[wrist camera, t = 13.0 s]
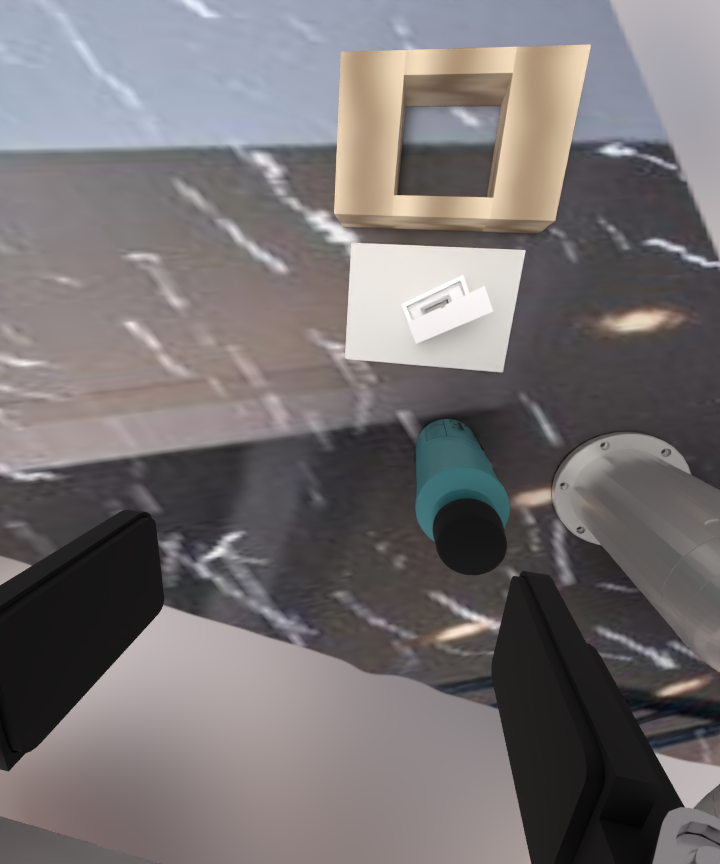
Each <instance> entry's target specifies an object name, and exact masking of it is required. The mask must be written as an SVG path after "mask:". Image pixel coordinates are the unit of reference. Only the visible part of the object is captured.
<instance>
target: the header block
mask: <svg viewBox="0 0 720 864" xmlns="http://www.w3.org/2000/svg"><path fill="white" fill-rule="evenodd" d="M590 47H591V45H561V46H528V47H494V48H460V49H427V50H393V51H360V52H341V66H340V90H339V113H338V137H337V160H336V184H335V207H334V214H335V216H336V217H337V218H338V220H339V221H340V223H341V224H342V225H343V227H365V228H393V229H420V230H448V231H475V232H503V233H530V234H539V233H540V232H542V231H543V230H544V229H545V228H547V227H548V226H549V225H550V224H552V223H553V222H554V221H555V219H556V214H557V209H558V204H559V199H560V194H561V189H562V184H563V179H564V174H565V170H566V165H567V160H568V155H569V150H570V145H571V140H572V135H573V130H574V126H575V121H576V116H577V111H578V106H579V101H580V96H581V91H582V86H583V82H584V77H585V72H586V67H587V62H588V57H589V52H590ZM406 106H501V108H500V114H499V121H498V127H497V134H496V140H495V147H494V154H493V160H492V167H491V173H490V180H489V187H488V193H487V198H486V197H445V196H403V195H398V189H399V177H400V166H401V155H402V143H403V132H404V120H405V109H406Z"/></svg>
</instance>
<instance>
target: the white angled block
mask: <svg viewBox="0 0 720 864" xmlns="http://www.w3.org/2000/svg"><path fill="white" fill-rule="evenodd" d="M444 301H447V304H446V305H444V306H443V307H442V308H441V307H440V308H438V309H435V310H433V311H431V312H429V313H427V314H426V313H425V310H427V309H429V308H431V307H433V306H435V305H437V304H439V303H442V302H444ZM401 305H402V308H403V311H404V313H405V316H406V318H407V321H408V325H409V328H410V330H411V333H412V335H413V338H414V340H415V343H416V344H417V343H420V342H422V341H424V340H427V339H429V338H431V337H434V336H436V335H439V334H441V333H443V332H446V331H448V330H450V329H453V328H455V327H458V326H460V325H462V324H465V323H467V322H469V321H472V320H474V319H477V318H479V317H481V316H484V315H486V314H488V313H491V312H493V309H492V306H491V303H490V300H489V297H488V294H487V291H486V288H485V286H483V287H481V288H479V289H477V290H475V291H473V292H471V293H470V292H469V290H468V287H467V284H466V281H465V278H464V276H463V275H461V276H459V277H457V278H455V279H453V280H451V281H449V282H447V283H444V284H442V285H440V286H438V287H436V288H434V289H432V290H430V291H428V292H426V293H424V294H422V295H419V296H417V297H415V298H413V299H411V300H409V301H407V302H405V303H403V304H401Z"/></svg>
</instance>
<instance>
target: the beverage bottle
mask: <svg viewBox="0 0 720 864" xmlns="http://www.w3.org/2000/svg"><path fill="white" fill-rule="evenodd" d="M461 422H462V421H461ZM461 422H459V421H457V420H453V419H451V418H450V419H444V418H443V419H442V420H439V419H438V420H437V421H435V422H433V421H432V423H430V424H429V425H428V424H427V426H425V428H424V429H423V430H422V432H421V433H420V435H419V437H418V439H417V443H416V458H415V459H416V475H417V498H416V506H415V508H416V516H417V520H418V523H419V525H420V527H421V528H422V530H423V531H424V532H425V533H426V535H427V536H428V537H429V538H431V539H432V540H433V541H434V542H435V544H436V548H437V552H438V554H439V556H440V558H441V560H442V561H443V562H444V563H445V564H446V565H447V566H448V567H449V568H450V569H452V570H454V571H456V572H458V573H461V574H466V575H480V574H484V573H487V572H489V571H491V570H493V569H494V568H496V567H497V566H498V565H499V564H500V563H501V561H502V560H503V558H504V556H505V553H506V549H507V541H506V536H505V533H504V528H505V526H506V524H507V522H508V519H509V513H510V503H509V499H508V495H507V493H506V491H505V489H504V487H503V486H502V484H501V483H500V482H499V480H498V479H497V477H496V475H495V473H494V471H493V469H492V467H491V465H490V463H489V461H488V459H487V458H486V456H487V455H486V456H485V454H484V453H485V452H483V451H482V449H483V447H481V446H482V445H481V446H480V444H481V443H480V444H479V443H478V442H477V440H478V439H477V440H476V437H477V436H475V434H474V432H473V430H470V429H471V428H470V427H469V428H470V429H469V428H468V427H467V426H466V425H467V424H465V425H464V424H463V423H461ZM481 448H482V449H481ZM483 450H484V449H483ZM414 452H415V451H414ZM414 454H415V453H414ZM414 457H415V456H414ZM493 468H494V467H493Z"/></svg>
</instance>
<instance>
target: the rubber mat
mask: <svg viewBox="0 0 720 864" xmlns="http://www.w3.org/2000/svg"><path fill="white" fill-rule="evenodd" d="M525 251H526V250H508V249H484V248H461V247H437V246H413V245H390V244H366V243H352V244H351V262H350V280H349V298H348V315H347V333H346V351H345V359H352V360H364V361H375V362H387V363H399V364H410V365H422V366H433V367H445V368H457V369H468V370H480V371H491V372H503V368H504V363H505V358H506V352H507V347H508V342H509V336H510V331H511V326H512V320H513V315H514V310H515V304H516V299H517V293H518V288H519V283H520V277H521V272H522V267H523V261H524V256H525ZM461 275H463V276H464V278H465V281H466V284H467V287H468V290H469V292H470V293H471V292H473V291H475V290H477V289H479V288H481V287H483V286H485V288H486V291H487V294H488V297H489V300H490V303H491V306H492V309H493V312H491V313H488V314H486V315H484V316H481V317H479V318H477V319H474V320H472V321H469V322H467V323H465V324H462V325H460V326H458V327H455V328H453V329H450V330H448V331H446V332H443V333H441V334H439V335H436V336H434V337H431V338H429V339H427V340H424V341H422V342H420V343H417V344H416V343H415V340H414V338H413V335H412V333H411V330H410V328H409V325H408V321H407V318H406V316H405V313H404V311H403V308H402V305H401V304H403V303H405V302H407V301H409V300H411V299H413V298H415V297H417V296H419V295H422V294H424V293H426V292H428V291H430V290H432V289H434V288H436V287H438V286H440V285H442V284H444V283H447V282H449V281H451V280H453V279H455V278H457V277H459V276H461ZM446 304H447V301H444V302H442V303H439V304H437V305H435V306H433V307H431V308H429V309H427V310H425V313H426V314H427V313H429V312H431V311H433V310H435V309H438V308H440V307H441V308H442V307H443V306H444V305H446Z"/></svg>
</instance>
